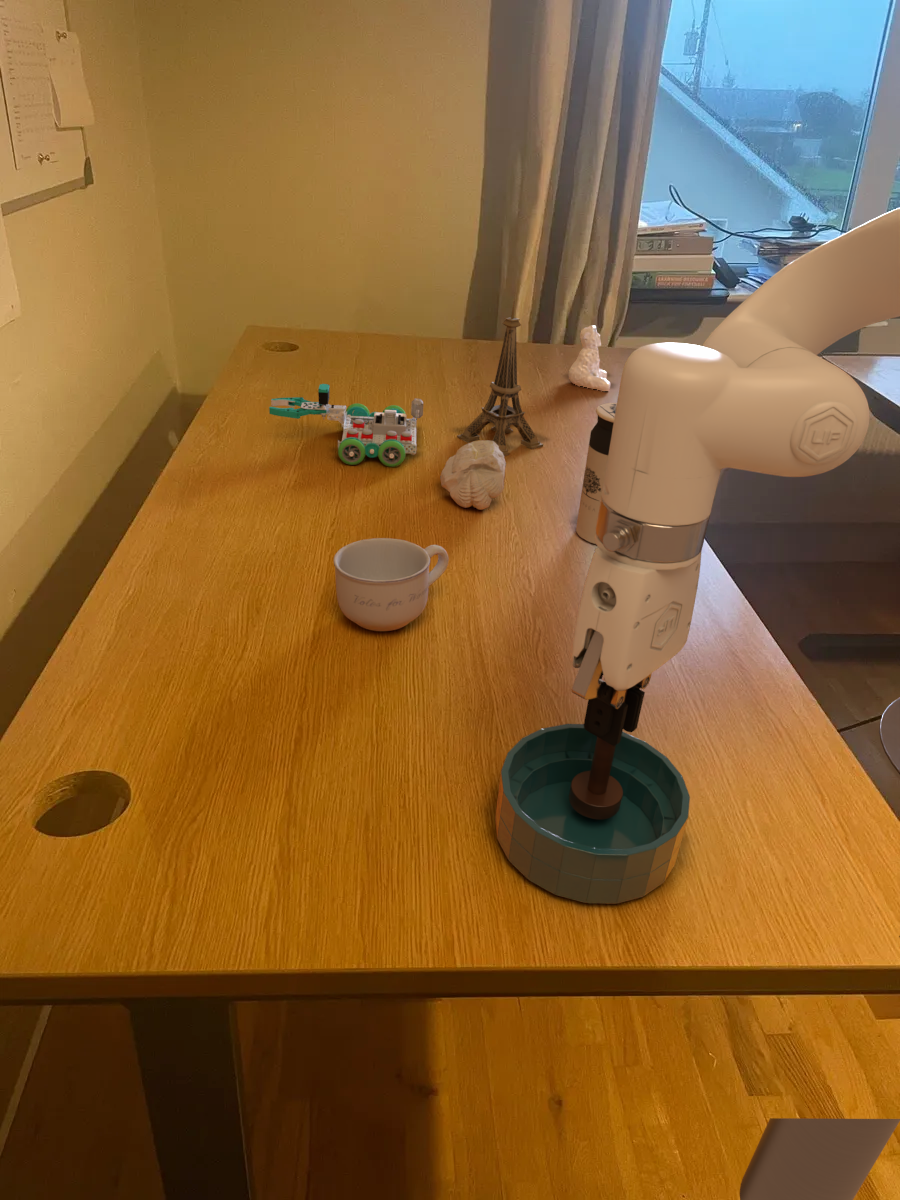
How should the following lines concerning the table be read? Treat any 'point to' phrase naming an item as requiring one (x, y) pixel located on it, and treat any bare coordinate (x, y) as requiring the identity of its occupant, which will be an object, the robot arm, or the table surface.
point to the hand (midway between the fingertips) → (609, 728)
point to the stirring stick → (597, 785)
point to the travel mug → (595, 472)
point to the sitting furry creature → (589, 362)
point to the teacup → (385, 581)
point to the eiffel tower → (504, 398)
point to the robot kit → (361, 427)
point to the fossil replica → (475, 474)
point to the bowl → (584, 845)
